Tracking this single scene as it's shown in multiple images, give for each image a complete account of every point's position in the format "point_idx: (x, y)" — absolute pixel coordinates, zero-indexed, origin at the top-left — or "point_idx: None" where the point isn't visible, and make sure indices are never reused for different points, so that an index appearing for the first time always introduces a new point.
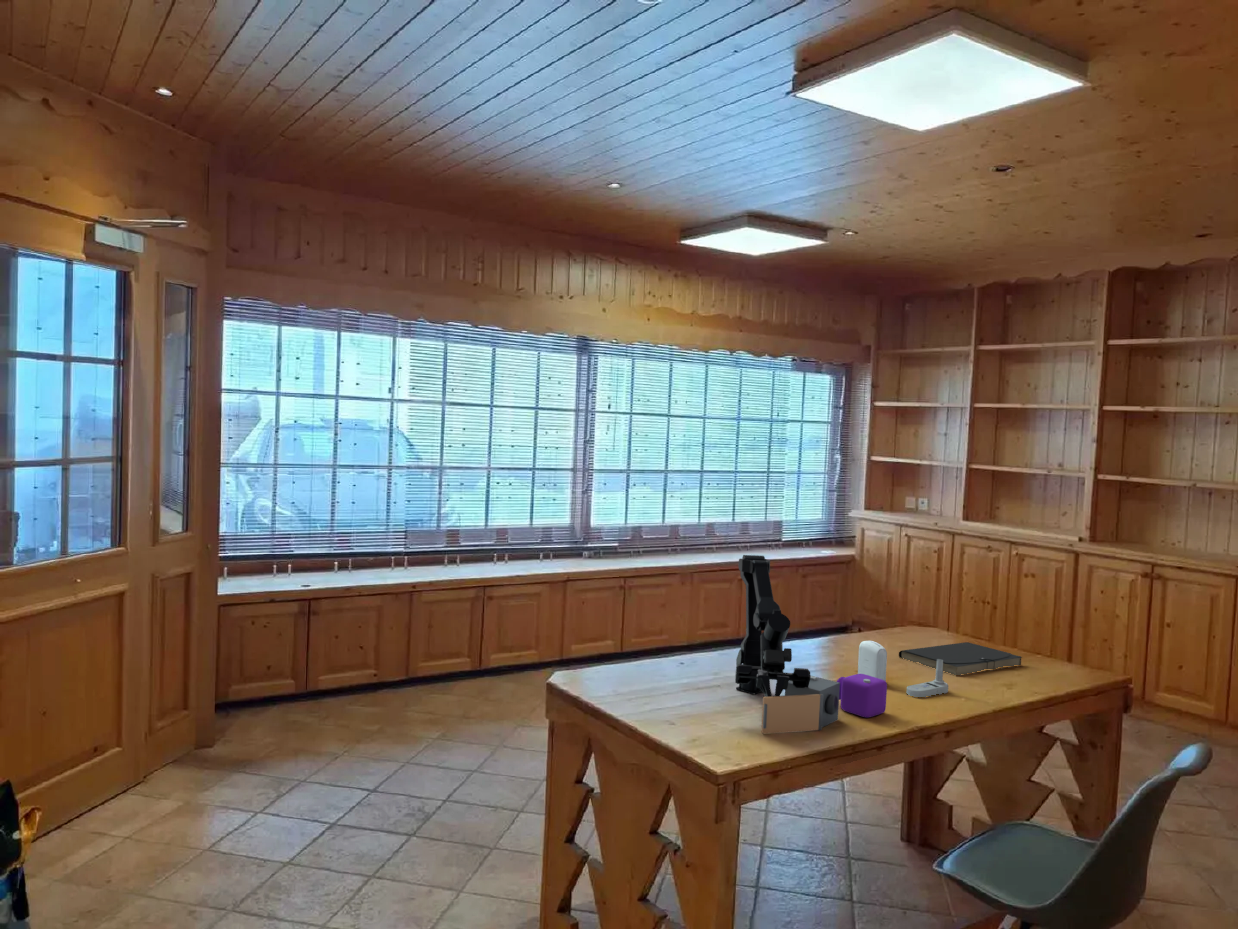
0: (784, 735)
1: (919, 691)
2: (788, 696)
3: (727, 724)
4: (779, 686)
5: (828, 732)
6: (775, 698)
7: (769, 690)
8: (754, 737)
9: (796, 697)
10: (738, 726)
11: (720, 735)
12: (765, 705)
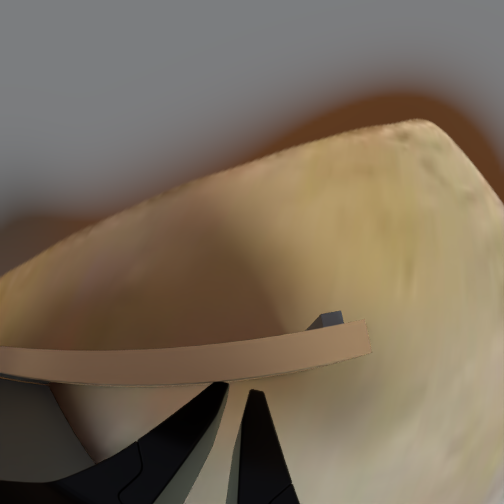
0: None
1: None
2: (80, 356)
3: (412, 464)
4: (99, 496)
5: None
6: (230, 342)
7: (255, 497)
8: None
9: (29, 350)
10: (377, 452)
11: (456, 336)
12: (335, 313)
